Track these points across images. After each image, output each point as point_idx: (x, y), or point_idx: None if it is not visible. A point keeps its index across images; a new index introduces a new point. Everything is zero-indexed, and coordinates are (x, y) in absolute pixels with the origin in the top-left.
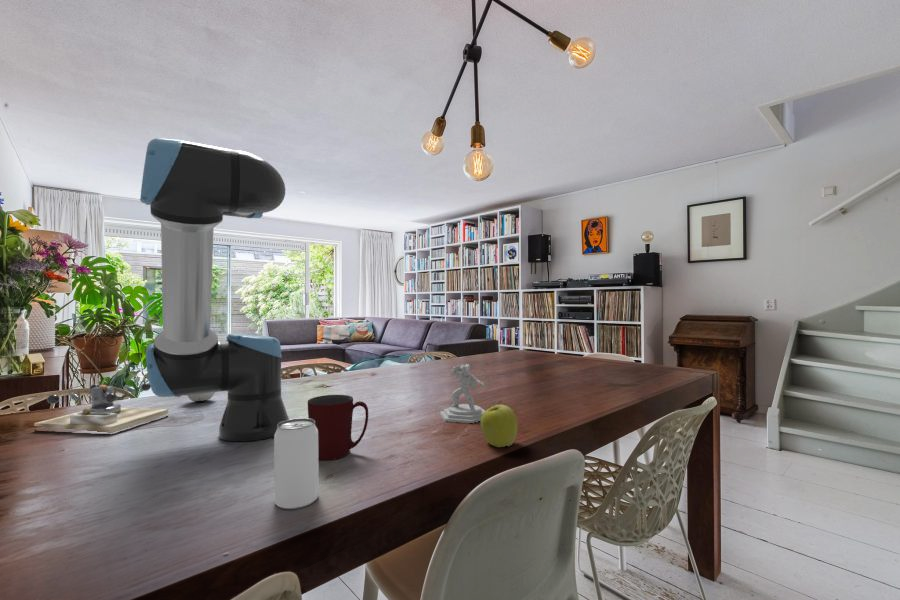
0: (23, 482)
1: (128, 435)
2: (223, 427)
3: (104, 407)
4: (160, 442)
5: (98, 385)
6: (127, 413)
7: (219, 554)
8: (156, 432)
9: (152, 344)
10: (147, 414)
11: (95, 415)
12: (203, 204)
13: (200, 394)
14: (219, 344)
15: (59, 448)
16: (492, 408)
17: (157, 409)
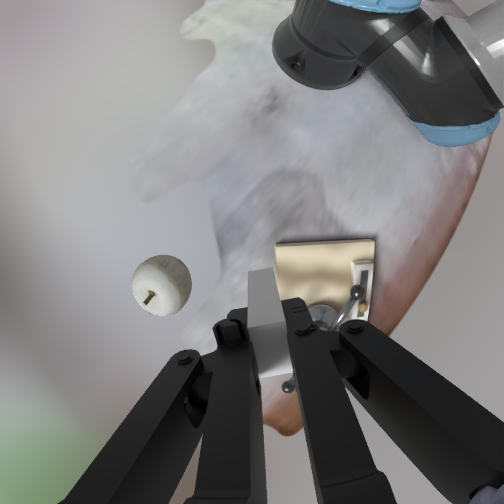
0: (467, 189)
1: (367, 215)
2: (361, 67)
3: (323, 321)
4: (382, 145)
5: (287, 385)
6: (310, 290)
7: (464, 17)
8: (351, 186)
9: (497, 115)
10: (311, 252)
11: (368, 284)
12: None
13: (184, 264)
14: (431, 19)
15: (411, 252)
16: None
17: (280, 265)
